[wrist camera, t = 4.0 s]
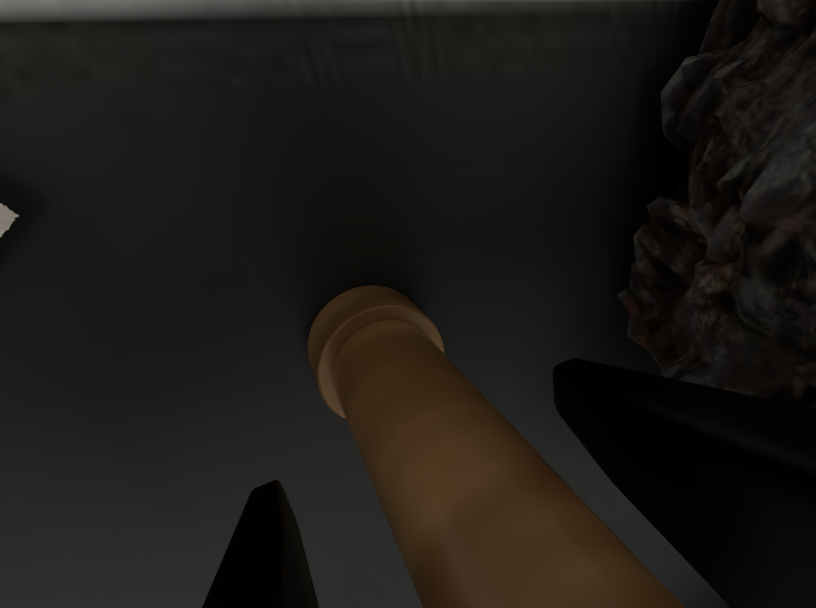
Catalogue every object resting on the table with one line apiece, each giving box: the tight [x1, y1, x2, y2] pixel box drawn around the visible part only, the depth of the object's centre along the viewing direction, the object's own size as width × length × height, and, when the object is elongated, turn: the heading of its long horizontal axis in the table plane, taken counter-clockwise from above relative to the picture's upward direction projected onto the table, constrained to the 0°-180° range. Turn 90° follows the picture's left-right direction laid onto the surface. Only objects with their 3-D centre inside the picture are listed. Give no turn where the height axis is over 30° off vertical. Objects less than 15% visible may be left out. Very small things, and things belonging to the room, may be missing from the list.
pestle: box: [307, 285, 684, 608], centre depth 7 cm, size 3×3×12 cm
